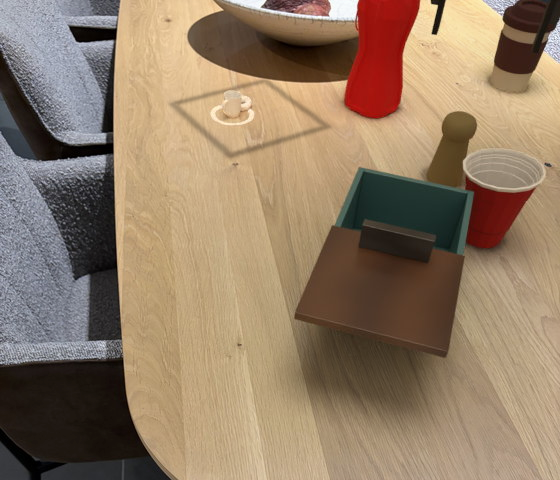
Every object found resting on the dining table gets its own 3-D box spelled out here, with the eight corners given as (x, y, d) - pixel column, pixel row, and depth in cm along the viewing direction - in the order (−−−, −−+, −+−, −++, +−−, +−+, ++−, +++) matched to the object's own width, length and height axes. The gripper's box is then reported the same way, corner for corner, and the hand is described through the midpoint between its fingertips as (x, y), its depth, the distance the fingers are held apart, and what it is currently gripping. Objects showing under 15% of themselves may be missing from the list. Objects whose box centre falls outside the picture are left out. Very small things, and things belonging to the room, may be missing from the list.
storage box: (453, 252, 87) (474, 191, 79) (439, 324, 77) (461, 263, 69) (348, 227, 89) (358, 166, 81) (321, 295, 79) (331, 232, 72)
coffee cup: (538, 85, 124) (569, 4, 112) (522, 103, 118) (552, 19, 107) (493, 71, 127) (518, -9, 115) (475, 87, 121) (499, 5, 110)
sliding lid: (462, 262, 69) (472, 233, 66) (445, 358, 59) (457, 330, 56) (330, 231, 71) (335, 202, 68) (293, 319, 62) (296, 290, 58)
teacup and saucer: (243, 101, 112) (243, 79, 109) (266, 120, 108) (267, 97, 105) (202, 112, 109) (201, 89, 106) (224, 132, 105) (224, 109, 102)
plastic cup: (448, 209, 94) (471, 136, 84) (518, 227, 91) (550, 155, 82) (434, 249, 87) (457, 175, 78) (509, 270, 85) (542, 196, 76)
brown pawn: (417, 178, 99) (434, 113, 90) (440, 166, 101) (458, 102, 93) (446, 195, 96) (466, 129, 88) (469, 182, 99) (490, 117, 90)
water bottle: (360, 88, 118) (384, -64, 99) (405, 110, 114) (439, -46, 95) (329, 102, 114) (348, -54, 95) (374, 125, 109) (403, -35, 90)
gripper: (661, -158, 66) (578, 45, 83) (437, -186, 70) (399, 14, 86) (669, -146, 62) (578, 67, 78) (428, -176, 65) (390, 33, 82)
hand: (484, 40), depth 82 cm, fingers open, 13 cm apart
